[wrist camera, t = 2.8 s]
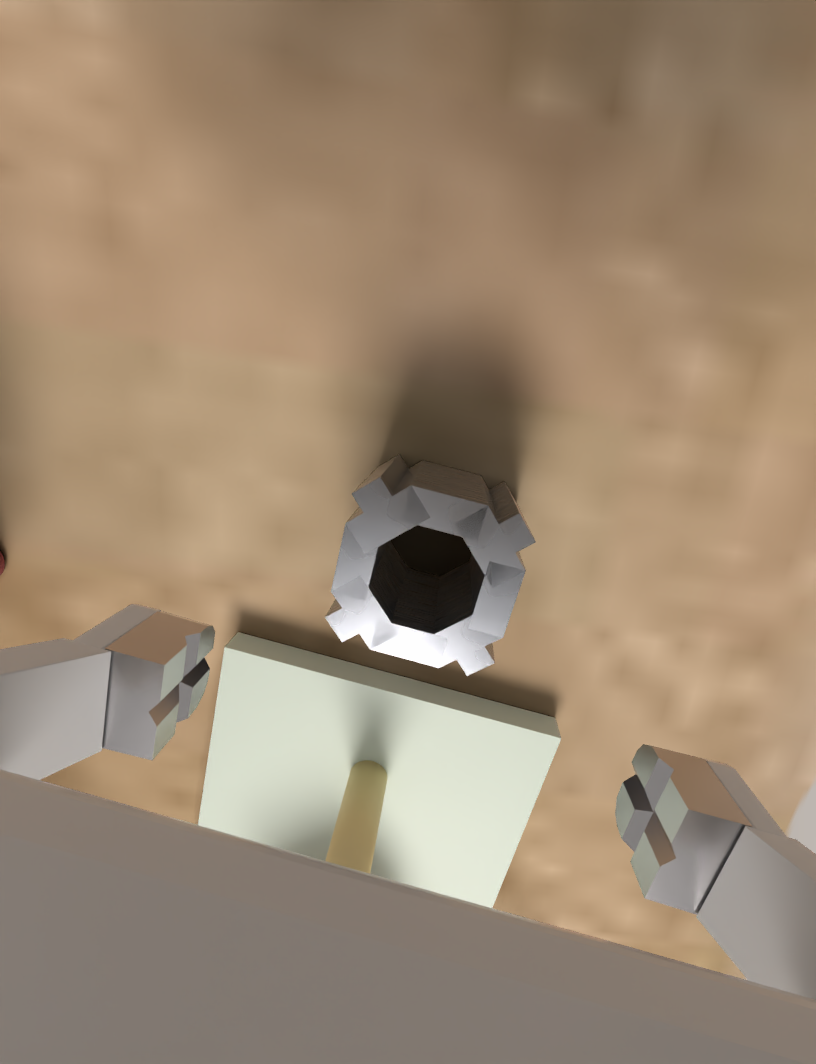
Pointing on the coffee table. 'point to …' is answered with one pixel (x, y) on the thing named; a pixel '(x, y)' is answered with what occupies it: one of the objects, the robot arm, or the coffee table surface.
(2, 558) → the mechanical component
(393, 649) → the loose gear
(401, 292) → the coffee table surface
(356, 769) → the gear board
